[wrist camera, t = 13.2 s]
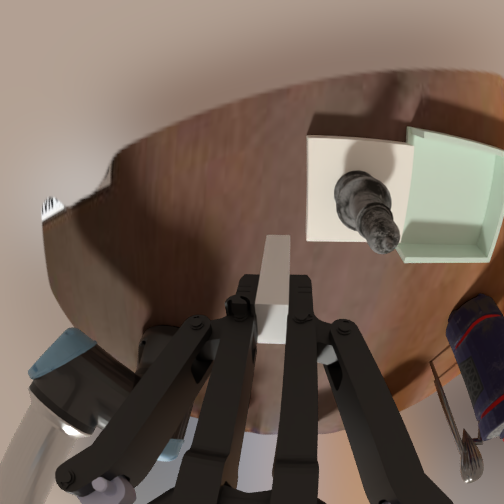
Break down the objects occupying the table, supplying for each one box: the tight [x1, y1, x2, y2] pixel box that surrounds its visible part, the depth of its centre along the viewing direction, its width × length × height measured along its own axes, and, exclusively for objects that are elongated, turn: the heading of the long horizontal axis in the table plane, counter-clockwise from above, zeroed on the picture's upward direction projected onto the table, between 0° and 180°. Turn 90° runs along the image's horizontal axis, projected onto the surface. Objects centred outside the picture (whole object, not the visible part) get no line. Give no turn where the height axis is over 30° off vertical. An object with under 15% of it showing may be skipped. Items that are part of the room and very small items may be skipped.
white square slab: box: [306, 135, 414, 243], centre depth 29 cm, size 12×12×2 cm
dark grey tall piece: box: [334, 170, 400, 254], centre depth 23 cm, size 6×6×12 cm
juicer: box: [430, 361, 484, 483], centre depth 34 cm, size 10×11×30 cm
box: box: [395, 126, 504, 263], centre depth 27 cm, size 16×16×4 cm
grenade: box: [446, 294, 504, 441], centre depth 25 cm, size 14×12×30 cm
